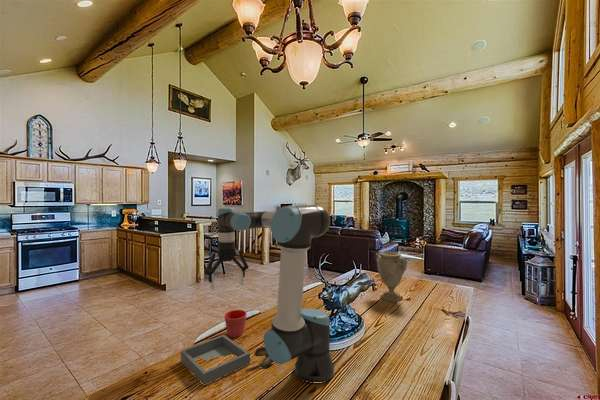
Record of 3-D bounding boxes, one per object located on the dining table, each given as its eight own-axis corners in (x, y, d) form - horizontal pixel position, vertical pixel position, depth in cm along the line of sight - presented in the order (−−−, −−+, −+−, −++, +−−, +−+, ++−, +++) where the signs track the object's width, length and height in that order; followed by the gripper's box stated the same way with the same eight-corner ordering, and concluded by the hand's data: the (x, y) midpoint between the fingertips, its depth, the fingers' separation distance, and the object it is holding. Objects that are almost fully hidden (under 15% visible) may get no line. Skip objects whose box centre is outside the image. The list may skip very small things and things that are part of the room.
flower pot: (224, 340, 133) (224, 320, 133) (224, 330, 144) (224, 310, 144) (247, 337, 136) (247, 317, 136) (245, 327, 147) (245, 308, 147)
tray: (250, 364, 114) (249, 353, 114) (203, 386, 101) (203, 374, 101) (223, 344, 130) (223, 334, 130) (180, 361, 116) (180, 350, 116)
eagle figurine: (264, 350, 122) (250, 357, 114) (272, 338, 121) (259, 344, 113) (275, 366, 118) (261, 373, 110) (284, 353, 117) (270, 360, 109)
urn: (367, 296, 191) (367, 252, 191) (384, 290, 202) (384, 248, 202) (398, 307, 172) (398, 258, 172) (415, 300, 183) (415, 254, 182)
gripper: (249, 238, 142) (250, 280, 142) (197, 242, 129) (197, 289, 129) (254, 239, 135) (255, 284, 135) (200, 244, 123) (201, 293, 123)
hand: (227, 286), depth 132 cm, fingers open, 13 cm apart
